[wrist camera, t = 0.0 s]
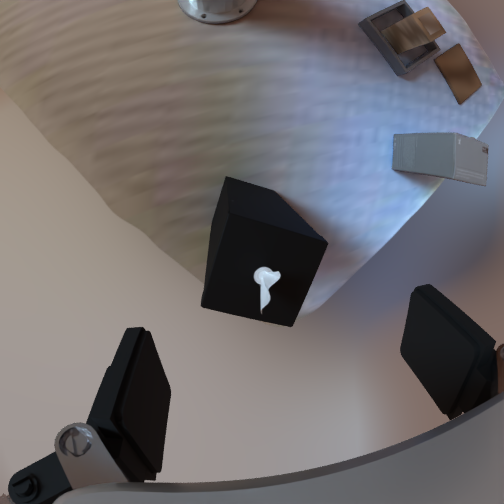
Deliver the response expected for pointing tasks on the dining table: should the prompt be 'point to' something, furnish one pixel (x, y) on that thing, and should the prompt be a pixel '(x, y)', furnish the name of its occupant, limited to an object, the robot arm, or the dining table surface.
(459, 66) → the walnut board
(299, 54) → the dining table surface
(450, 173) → the skincare box
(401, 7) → the bin
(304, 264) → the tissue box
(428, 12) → the beech block
